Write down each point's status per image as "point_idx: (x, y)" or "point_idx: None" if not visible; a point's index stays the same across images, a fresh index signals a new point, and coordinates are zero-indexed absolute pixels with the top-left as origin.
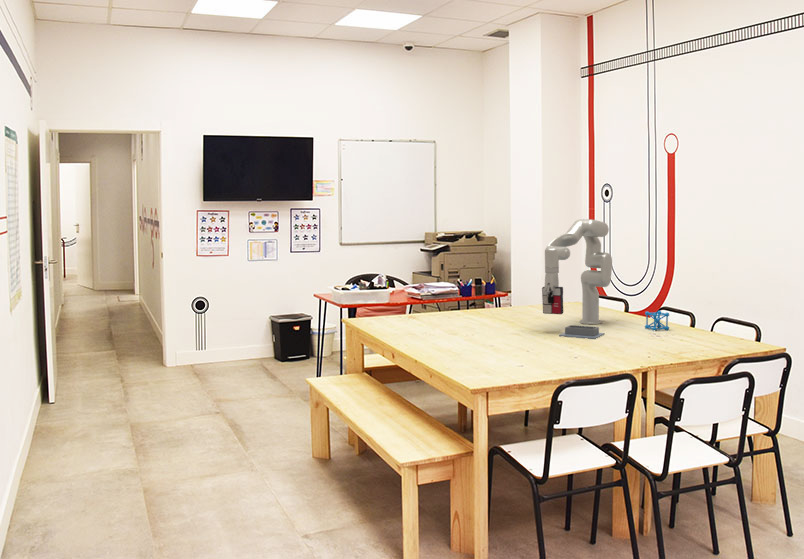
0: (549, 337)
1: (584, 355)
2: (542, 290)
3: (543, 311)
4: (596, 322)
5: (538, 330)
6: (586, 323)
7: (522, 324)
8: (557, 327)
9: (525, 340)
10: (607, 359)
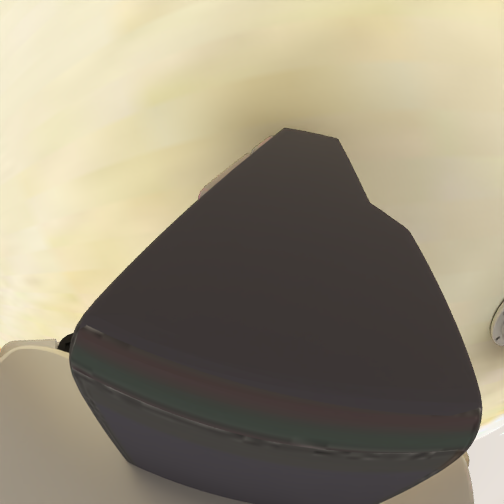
0: (127, 188)
1: (6, 306)
2: (153, 252)
3: (268, 138)
4: (493, 338)
5: (328, 81)
6: (501, 306)
7: (492, 3)
8: (447, 188)
9: (41, 113)
10: (14, 336)
